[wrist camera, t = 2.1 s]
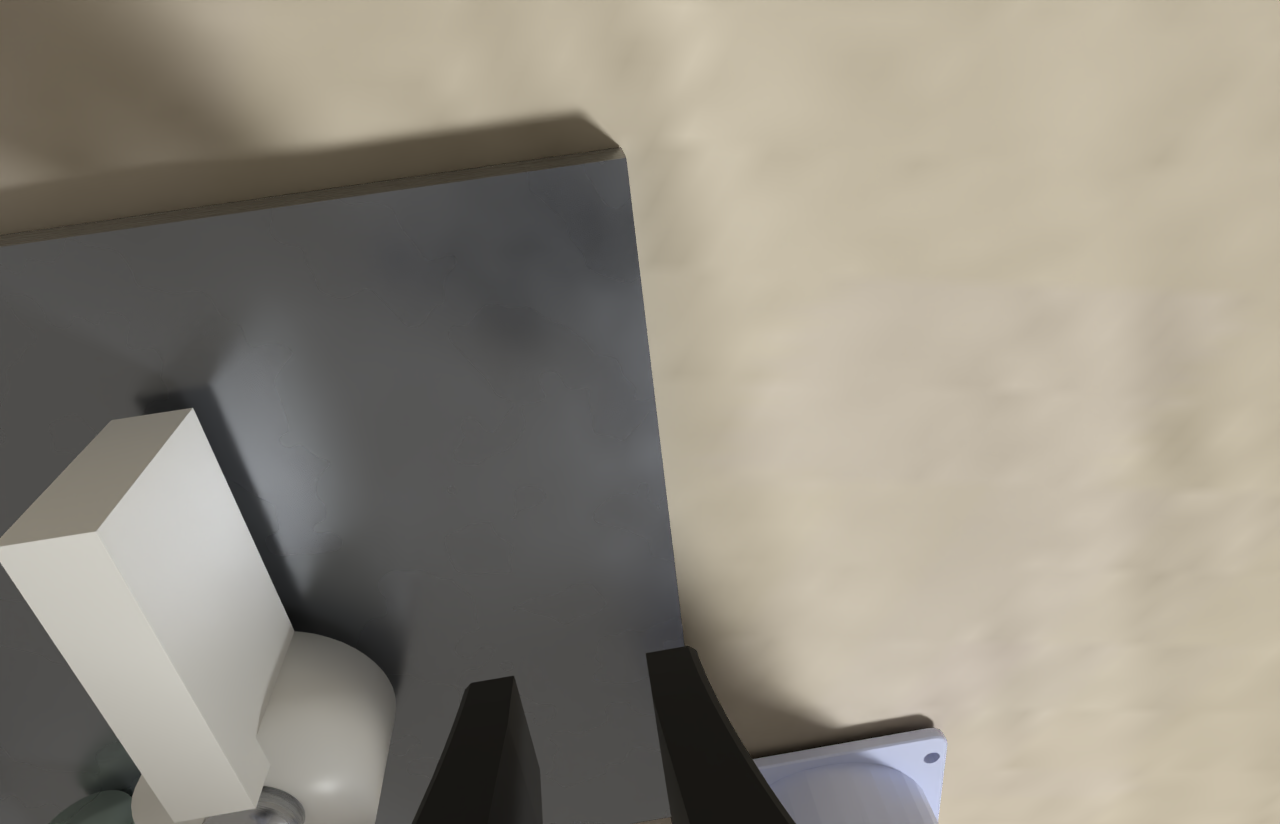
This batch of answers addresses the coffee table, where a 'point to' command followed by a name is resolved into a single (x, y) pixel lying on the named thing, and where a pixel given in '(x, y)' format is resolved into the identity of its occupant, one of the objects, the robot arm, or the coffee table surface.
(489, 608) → the base plate
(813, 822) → the robot arm
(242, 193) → the coffee table surface
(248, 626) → the white block
